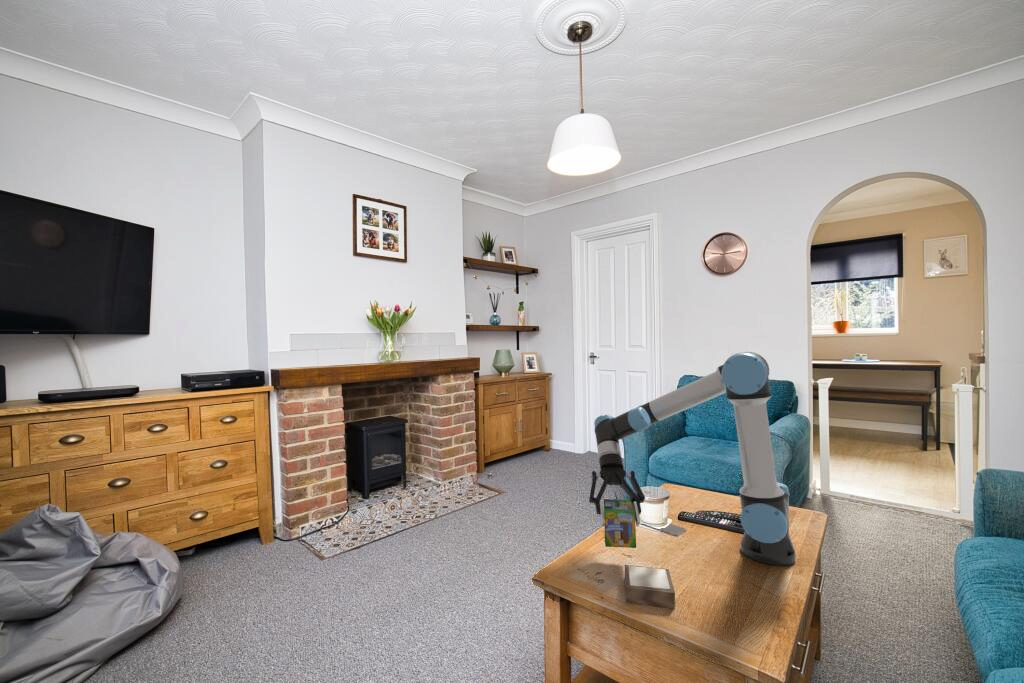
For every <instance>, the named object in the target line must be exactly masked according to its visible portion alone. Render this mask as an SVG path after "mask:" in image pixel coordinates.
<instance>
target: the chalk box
mask: <svg viewBox="0 0 1024 683" xmlns="http://www.w3.org/2000/svg"><path fill="white" fill-rule="evenodd" d="M613 493H614V496H615V498H613V499H606V498H604V499H603V511H604V519H605V524H604V526H603V527H604V534H603V535H604V545H605V547H606V548H607V547H609V548H627V549H628V548H631V549H637V535H636V534H637V533H636V532H637V530H636V527H637V526H636V522H635V509H634V506H633V501H632V500H631V499H629V500H628V499H621V498H620V499H619V498H618V495H617V493H616V491H615V490H614V492H613Z"/></svg>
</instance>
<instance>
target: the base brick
mask: <svg viewBox="0 0 1024 683" xmlns="http://www.w3.org/2000/svg"><path fill="white" fill-rule="evenodd" d="M624 589H625V600H626V602H625V603H626V604H634V605H642V606H652V607H661V608H668V609H676V593H675V589H674V584H673V581H672V576H671V572H670V569H669V568H661V567H652V566H651V567H650V566H639V565H631V564H624Z"/></svg>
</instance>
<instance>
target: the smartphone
mask: <svg viewBox="0 0 1024 683" xmlns="http://www.w3.org/2000/svg"><path fill="white" fill-rule="evenodd" d="M659 530H661V531H660V532H662V531H663V533H665V532H666V534H668V533H669V535H671V534H673V535H672V536H674V535H676V536H675V537H679V536H681V535H682V533H683V532H684V531H686V532H687V528H685V527H683V526H679V525H676V524H672V523H670V525H669V526H668V527H666V528H661V529H659ZM659 530H658V531H659ZM684 533H685V532H684ZM684 533H683V534H684ZM680 534H681V535H680ZM678 535H679V536H678Z"/></svg>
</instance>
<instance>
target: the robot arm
mask: <svg viewBox="0 0 1024 683" xmlns="http://www.w3.org/2000/svg"><path fill="white" fill-rule="evenodd" d="M769 376H770V367H769V363H768V362H767V360H766V359H765V358H764V357H763V356H762V355H760V354H758V353H756V352H752V351H745V352H743V351H742V352H739V353H735V354H732V355H731V356H729V357H728V358H727V359H726V360H725V361H724V363H723V364H722V365H720V366H717V368H716V371H714V372H712V373H709V374H707V375H705V376H703V377H701V378H698V379H697V380H694V381H692V382H690V383H688V384H685V385H683V386H681V387H679V388H676V389H675V390H674V389H673V390H672V391H671V392H667V393H666V394H663V395H661V396H659V397H657V398H655V399H652V400H651V401H647V402H646V403H644V404H642V405H641V404H640V405H639V406H636V407H635V408H632V409H630V410H628V411H626V412H623V413H621V414H619V415H618V416H615V417H614V416H612V415H611V414H610V415H609V414H604V415H599V416H597V417H596V418H595V419H594V422H593V423H594V424H593V425H594V434H595V439H596V446H597V448H596V449H597V456H598V462H599V469H600V471H597V472H596V471H595V470H593V471H592V472H591V486H590V487H591V488H590V491H589V492H590V493H589V498H588V499H589V500H588V502H589V503H590V504H594V506H595V512H596V515H599V517H600V523H601V524H600V525H601V527H605V526H604V524H605V519H604V503H603V501H601V500H602V498H603V496H604V493H605V491H606V489H607V487H608V485H609V486H620V488H621V489H623V491H624V492H625V493H626V494H627V495H628V497H629V498H630V500H632V502H633V506H634V509H635V527H640V525H641V524H640V522H641V519H640V515H641V513H642V508H641V503H642V504H643V503H644V502H645V499H646V496H645V495H644V493H643V490H642V488H641V487H640V484H639V483H638V479H636V475H635V474H636V473H635V471H634V470H631V471H626V470H625V469H624V463H623V458H622V453H621V447H620V440H623V439H625V438H627V437H630V436H632V435H634V434H637V433H639V432H643V431H644V430H646V429H648V428H650V426H651V425H654V424H656V423H658V422H660V421H663V420H665V419H668V418H669V417H672V416H674V415H677V414H679V413H682V412H684V411H687V410H689V409H691V408H693V407H695V406H698V405H700V404H703V403H704V402H708V401H710V400H712V399H715V398H717V397H720V396H721V395H725V394H726V400H727V401H728V402H730V403H731V404H732V405H733V411H734V420H735V425H736V426H735V427H736V432H737V433H736V434H737V441H738V448H739V457H740V465H741V472H742V479H743V485H742V486H741V487H740V488H739V499H740V506H741V507H740V508H741V512H740V516H739V517H740V519H739V520H740V524H741V526H742V528H743V530H744V533H743V535H742V538H741V541H740V551H741V553H742V554H744V556H746V557H747V558H749V559H752V560H754V561H756V562H759V563H762V564H767V565H770V566H771V565H772V566H781V567H782V566H790V565H792V564H794V563H795V562H796V549H795V547H794V545H793V542H792V539H791V536H790V531H789V528H790V514H789V513H790V492H789V491H790V490H789V487H788V485H786V484H785V483H782V482H778V481H777V475H776V469H775V460H774V453H773V446H772V438H771V430H770V429H771V428H770V424H769V415H768V410H767V409H768V408H767V402H768V401H769V400H771V398H772V394H771V388H770V377H769ZM599 477H600V478H601V479H602V480H603V482H602V484H601V487H600V489H599V490H598V494H597V495H596V497H595V493H596V492H595V491H596V486H597V481H598V479H599ZM626 477H627V479H628V480H629V481H630V484H631V486H632V488H633V489H632V488H631V487H630V485H629V484H628V482H627V480H626V479H625V478H626Z"/></svg>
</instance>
